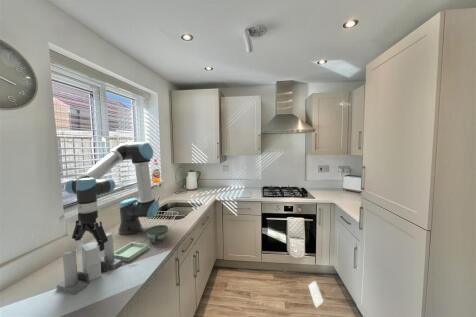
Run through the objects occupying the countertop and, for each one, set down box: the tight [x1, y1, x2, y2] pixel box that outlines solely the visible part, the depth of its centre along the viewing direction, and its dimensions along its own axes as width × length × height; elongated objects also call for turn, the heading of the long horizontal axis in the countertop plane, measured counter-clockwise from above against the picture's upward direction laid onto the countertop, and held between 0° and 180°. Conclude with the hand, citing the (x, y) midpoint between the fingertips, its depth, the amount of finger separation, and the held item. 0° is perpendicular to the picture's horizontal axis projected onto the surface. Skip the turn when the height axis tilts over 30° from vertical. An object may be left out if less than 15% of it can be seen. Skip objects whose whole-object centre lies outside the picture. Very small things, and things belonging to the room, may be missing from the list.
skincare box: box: [81, 241, 102, 282], centre depth 97 cm, size 8×6×15 cm
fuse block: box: [56, 232, 123, 295], centre depth 97 cm, size 11×23×16 cm, turn 162°
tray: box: [114, 241, 149, 263], centre depth 116 cm, size 13×15×2 cm
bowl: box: [145, 224, 169, 244], centre depth 131 cm, size 14×13×8 cm
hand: (90, 255), depth 96 cm, fingers open, 13 cm apart
